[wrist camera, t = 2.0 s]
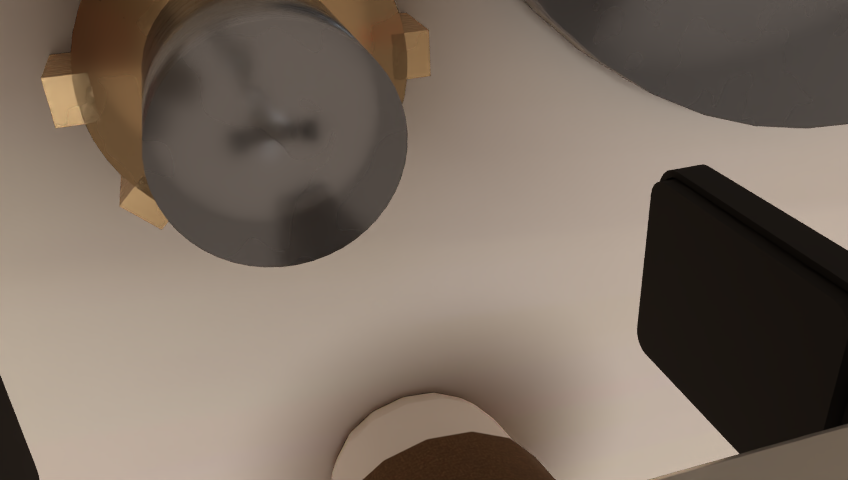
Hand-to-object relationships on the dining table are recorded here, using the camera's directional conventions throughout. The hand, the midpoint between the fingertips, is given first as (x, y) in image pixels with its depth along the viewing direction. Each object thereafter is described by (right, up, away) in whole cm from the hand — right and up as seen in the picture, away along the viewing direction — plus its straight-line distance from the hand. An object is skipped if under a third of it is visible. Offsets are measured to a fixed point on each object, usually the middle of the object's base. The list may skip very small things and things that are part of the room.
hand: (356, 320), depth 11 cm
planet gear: (-4, +6, +10) cm, 12 cm away
